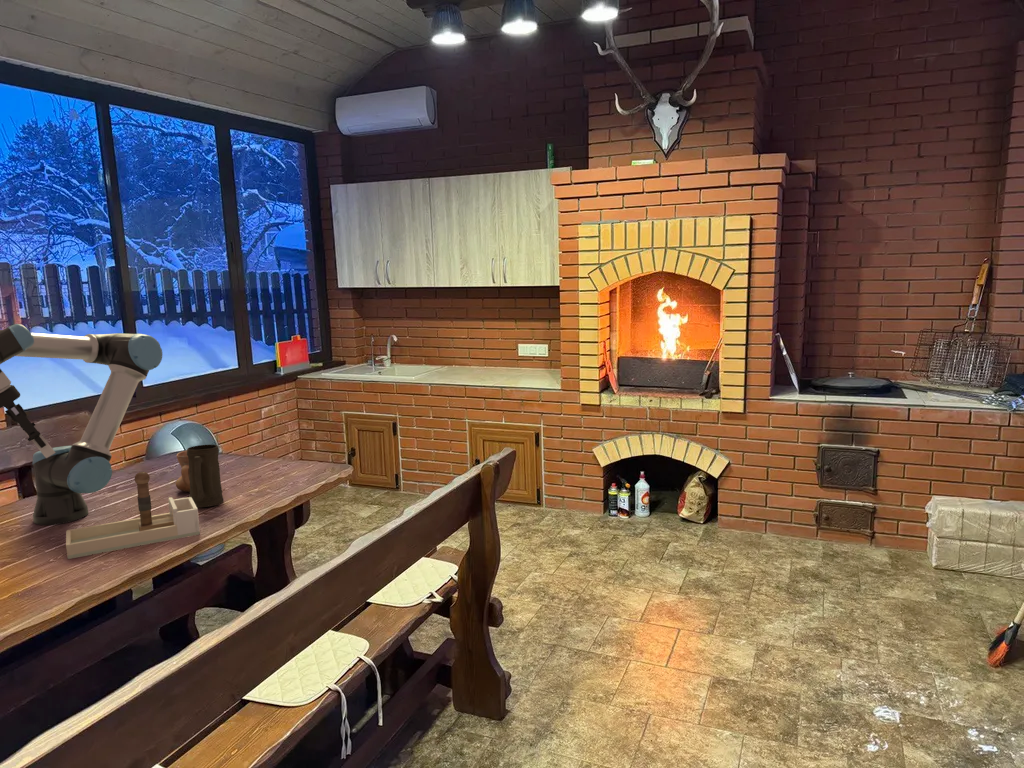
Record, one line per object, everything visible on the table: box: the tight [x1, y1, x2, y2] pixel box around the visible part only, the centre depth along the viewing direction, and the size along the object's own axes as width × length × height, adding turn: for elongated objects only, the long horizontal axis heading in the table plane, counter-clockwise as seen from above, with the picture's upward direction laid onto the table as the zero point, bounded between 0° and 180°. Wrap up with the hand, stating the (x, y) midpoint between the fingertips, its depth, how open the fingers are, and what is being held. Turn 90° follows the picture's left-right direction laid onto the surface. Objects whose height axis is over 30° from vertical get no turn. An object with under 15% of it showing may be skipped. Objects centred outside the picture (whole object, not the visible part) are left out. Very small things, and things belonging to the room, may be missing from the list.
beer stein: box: [186, 444, 225, 508], centre depth 239 cm, size 15×11×20 cm
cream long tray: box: [65, 496, 201, 560], centre depth 211 cm, size 14×34×9 cm, turn 121°
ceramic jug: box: [175, 449, 190, 493], centre depth 258 cm, size 18×14×14 cm
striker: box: [134, 471, 174, 531], centre depth 213 cm, size 5×10×19 cm, turn 121°
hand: (47, 451), depth 208 cm, fingers open, 13 cm apart
